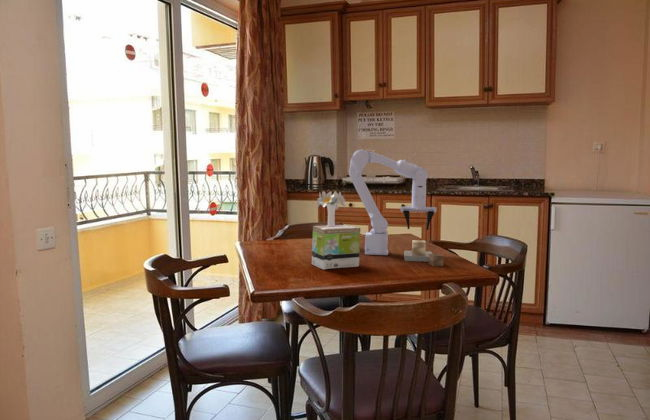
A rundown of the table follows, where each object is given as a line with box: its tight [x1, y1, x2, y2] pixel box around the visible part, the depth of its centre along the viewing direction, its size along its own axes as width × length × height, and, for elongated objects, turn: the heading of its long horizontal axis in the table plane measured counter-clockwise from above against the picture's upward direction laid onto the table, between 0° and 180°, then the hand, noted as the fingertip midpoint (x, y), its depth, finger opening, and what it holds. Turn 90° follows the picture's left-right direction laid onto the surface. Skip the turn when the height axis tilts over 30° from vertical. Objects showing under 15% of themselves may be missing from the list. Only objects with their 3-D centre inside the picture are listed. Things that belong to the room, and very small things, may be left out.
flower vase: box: [315, 190, 346, 225], centre depth 225 cm, size 13×18×25 cm
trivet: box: [403, 250, 433, 263], centre depth 201 cm, size 11×11×2 cm
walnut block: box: [428, 253, 444, 267], centre depth 189 cm, size 4×4×4 cm
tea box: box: [311, 224, 361, 270], centre depth 185 cm, size 15×10×15 cm, turn 117°
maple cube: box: [411, 239, 427, 255], centre depth 200 cm, size 5×5×5 cm
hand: (417, 229), depth 210 cm, fingers open, 7 cm apart
